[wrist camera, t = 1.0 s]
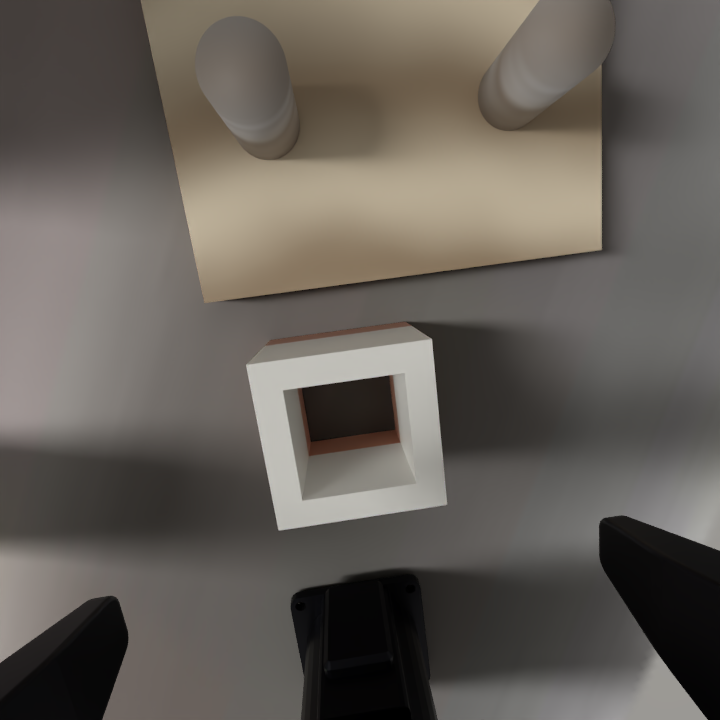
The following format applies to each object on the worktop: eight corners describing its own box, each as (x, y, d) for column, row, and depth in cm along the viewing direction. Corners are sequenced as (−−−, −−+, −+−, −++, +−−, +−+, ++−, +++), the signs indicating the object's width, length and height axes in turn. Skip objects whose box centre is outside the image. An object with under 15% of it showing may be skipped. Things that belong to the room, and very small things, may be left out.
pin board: (579, 251, 18) (686, 241, 12) (215, 300, 17) (161, 312, 12) (575, -75, 15) (708, -268, 10) (147, -30, 15) (39, -208, 9)
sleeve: (418, 446, 19) (447, 504, 14) (292, 464, 19) (278, 530, 14) (405, 321, 18) (431, 338, 13) (270, 339, 18) (246, 365, 13)
